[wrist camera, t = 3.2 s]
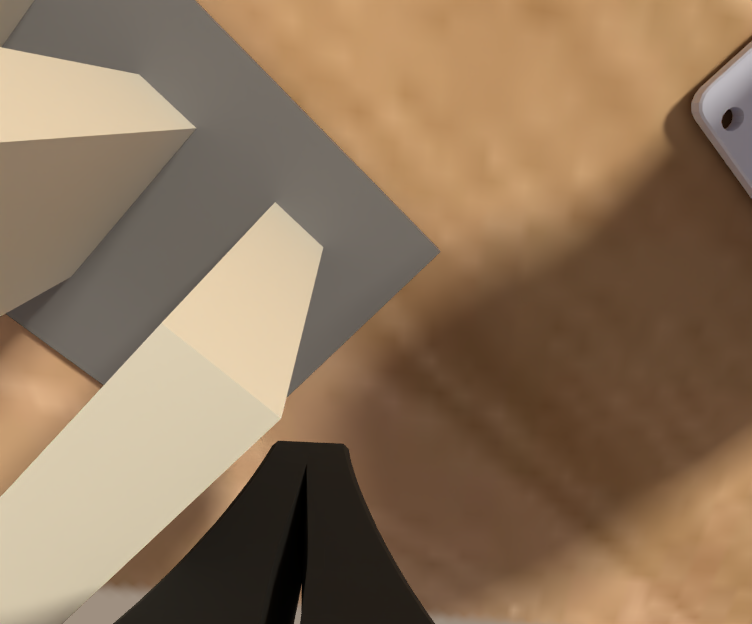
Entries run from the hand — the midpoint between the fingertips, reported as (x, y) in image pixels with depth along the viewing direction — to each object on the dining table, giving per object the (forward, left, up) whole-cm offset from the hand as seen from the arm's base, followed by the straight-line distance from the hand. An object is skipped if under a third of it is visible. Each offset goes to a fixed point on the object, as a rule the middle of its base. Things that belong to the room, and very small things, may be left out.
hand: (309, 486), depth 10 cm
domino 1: (+3, 0, -5) cm, 6 cm away
